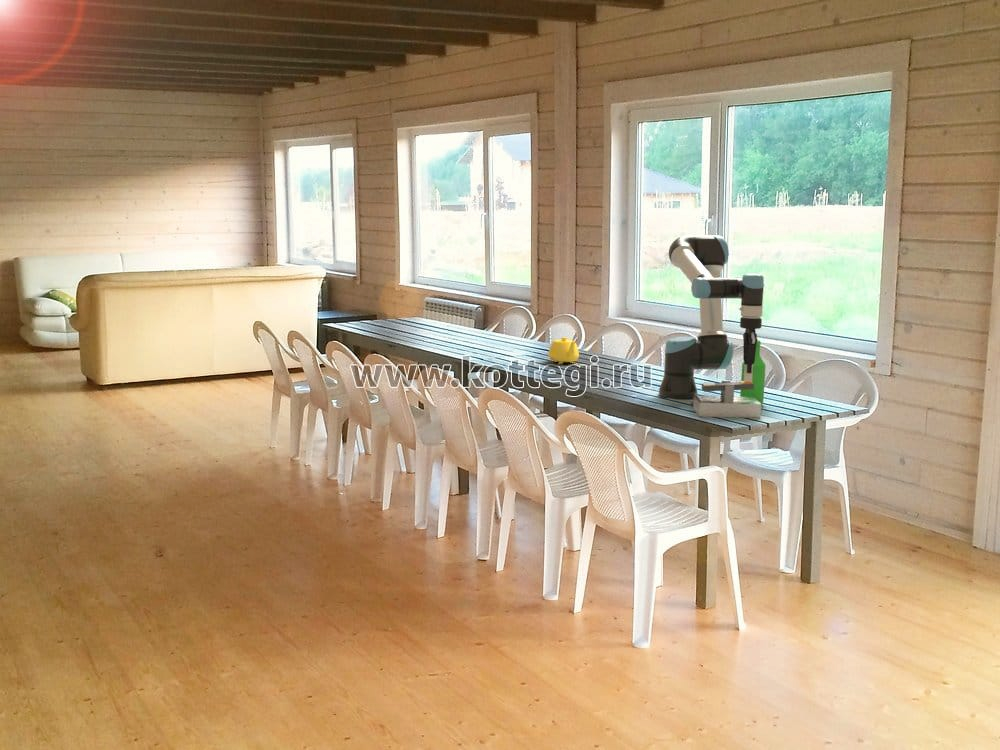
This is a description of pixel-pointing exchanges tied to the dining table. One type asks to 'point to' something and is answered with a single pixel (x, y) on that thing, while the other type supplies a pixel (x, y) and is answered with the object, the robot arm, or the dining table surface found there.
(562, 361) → the teapot
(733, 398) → the grey seesaw stand
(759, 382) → the bottle
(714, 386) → the rocker
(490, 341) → the dining table surface
